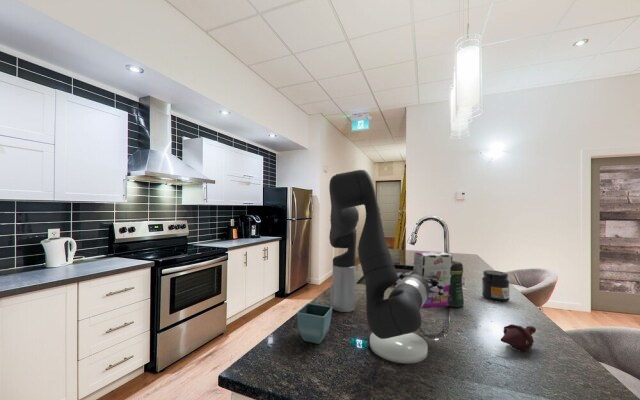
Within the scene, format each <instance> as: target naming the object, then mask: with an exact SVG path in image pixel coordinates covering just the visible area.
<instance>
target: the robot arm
mask: <svg viewBox="0 0 640 400" xmlns="http://www.w3.org/2000/svg"><path fill="white" fill-rule="evenodd" d="M371 177H372V176H371V175H370V173H369V172H368V171H367V170H366V169H357V170H352V171H346V172H342V173H338V174H335V175H333V176H332V177H330V180H329V189H328V190H329V198H330V208H331V209H330V215H329V216H330V218H329V219H330V229H329V244H330V246H332V248H335V249H347V250H346V251H345V252H343V253H342V254H340V255H336V256H334V257H333V258H332V282H331V284H330V307H332V310H334V311H336V312H341V313H349V312H350V313H351V312H353V311H355V309H356V248H357V255H358V260H359V264H360V267H361V271H362V273H363V278H364V282H365V298H366V300H365V301H366V305H365V306H366V310H365V311H366V320H367V321H366V322H367V324H368V326H369V328H370V330H371V333H374V334H375V335H376V336H377V337H378V338H381V339H387V338H391V337H396V336H400V335H404V334H409V333H414V332H416V331H417V330H419V329H420V328H421V326H422V323H423V322H422V315H421V312H420V311H421V307H422V306H423V305H424V303H425V302H426V300H427V297H428V295H429V293H431V292H433V291H436V293H438V295H440V296H443V290H444V284H443V281H442V280H439V281H438V278H437V277H436V276H434V275H433V277H432V278H423V277H421V276H419V275H417V274H413V271H412V270H411V271H408V272H405V273H403V272H401V271H399V272H397V270H396V267H395V264H394V261H393V257H392V256H391V252H390V250H389V246H388V244H387V240H386V237H385V232H384V228H383V223H382V218H381V212H380V207H379V203H378V200H377V194H376V190H375V186H374V182H373V181H372V180H373V179H372V178H371ZM358 206H364V209H365V218H364V219H365V220H364V225H363V228H362V231H361V233H360V236H359V240H358V247H356V246H357V229H356V227H357V225H358V222H359V217H360V215H359V211H358V208H356V207H358ZM392 286H395V287H394V288H393V289H392V290H391V292H389V295H388V297H387V298H385V292H386V291H387V290H388V289H389V288H390V287H392ZM384 298H385V299H384Z"/></svg>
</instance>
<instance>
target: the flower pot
mask: <svg viewBox="0 0 640 400" xmlns="http://www.w3.org/2000/svg"><path fill="white" fill-rule="evenodd" d="M332 315H333V309H332V307H330V306H328V305H322V304H317V303H306V304H304V305H303V306H302V307H301V308H300V309H298V310H297V312H296V318H297V329H298V332H299V334H300V336H301V338H302V340H303V341H305V342H308V343H313V344H317V345H319V344H321V342H322V341H323V340H324V338H325V337H326V336H327V333H328V331H329V329H330V326H331V323H332V321H331V320H332Z"/></svg>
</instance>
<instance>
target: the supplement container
mask: <svg viewBox="0 0 640 400" xmlns="http://www.w3.org/2000/svg"><path fill="white" fill-rule="evenodd" d="M482 275H483V276H482V278H481V281H482V283H481V284H482V285H481V286H482V287H481V288H482V289H481V292H482V297H483V298H484V299H486V300H488V301H491V300H492V301H491V302H495V301H497V303H508V302H509V301H510V283H511V282H510V280H509V274H508V273H507V272H504V271H499V270H490V269H488V270H483V273H482Z"/></svg>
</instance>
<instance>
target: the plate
mask: <svg viewBox="0 0 640 400" xmlns="http://www.w3.org/2000/svg"><path fill="white" fill-rule="evenodd" d="M369 347H370V349H371V351H372V352H374V354H375V355H377V356H378V357H381V358H382V359H385V360H387V361H389V362H392V363H398V364H416V363H420V362H423V361H424V360H426V359H427V357H428V350H429V349H428V344H427V342H426V340H425V339H424V338H422V337H421V336H420V335H418V334H416V333H414V332H412V333H409V334H404V335H400V336H396V337H391V338H387V339H381V338H378V337H377V336H376V335H375V334H374V333H373V332H371V334H370V336H369Z"/></svg>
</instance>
